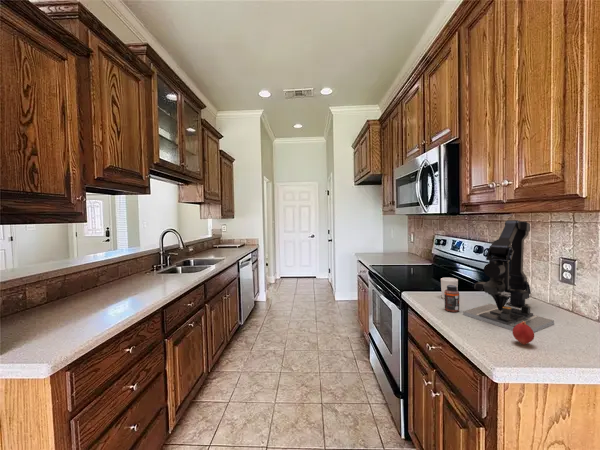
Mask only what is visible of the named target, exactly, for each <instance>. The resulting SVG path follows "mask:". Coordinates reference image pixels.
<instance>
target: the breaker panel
mask: <svg viewBox="0 0 600 450" xmlns="http://www.w3.org/2000/svg"><path fill="white" fill-rule="evenodd" d="M462 315H463V316H466V317H468V318H471V319H475V320H478V321H482V322H484V323H488V324H491V325H494V326H498V327H500V328H504V329H507V330H509V331H512V332H513V328H514V327H515V326H516V325H517V324H519V323H522V322H523V321H524V322H525V323H526V325H528V326H529V327H530V328H531V329H532V330H533V332H534V333H536V332H538V331H540V330H543V329H545V328H548V327H550V326H553V325H555V320H553V319H550V318H547V317H544V316H538V315H535V314H534V313H533V312H531V306H524V305H523V306H521V308H520V309H517V308H514V307H511V314H509V313H506V312H503V309H502V311H500V310H498V307H497V305H496V304H493V303H488V304H483V305H481V306H477V307H474V308H471V309H466V310H463V312H462Z"/></svg>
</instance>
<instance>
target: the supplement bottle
mask: <svg viewBox="0 0 600 450" xmlns="http://www.w3.org/2000/svg"><path fill="white" fill-rule="evenodd" d="M444 310H445V311H447V312H451V313H457V312H459V311H460V292H459V290H457V286H455V285H447V290H445V299H444Z"/></svg>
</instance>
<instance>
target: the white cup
mask: <svg viewBox="0 0 600 450" xmlns="http://www.w3.org/2000/svg"><path fill="white" fill-rule="evenodd" d="M447 285H455V286H457V291H459V290H458V285H459V279H457V278H454V277H442V278H440V288H441V289H440V290H441V298H442V299H443V300H445V290H447Z"/></svg>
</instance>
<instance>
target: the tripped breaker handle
mask: <svg viewBox="0 0 600 450" xmlns="http://www.w3.org/2000/svg"><path fill="white" fill-rule="evenodd" d="M511 308H512V307H511V306H510V307H509V306H506V305H505V306H504V307H503V312H506V313H509V314H511Z"/></svg>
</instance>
